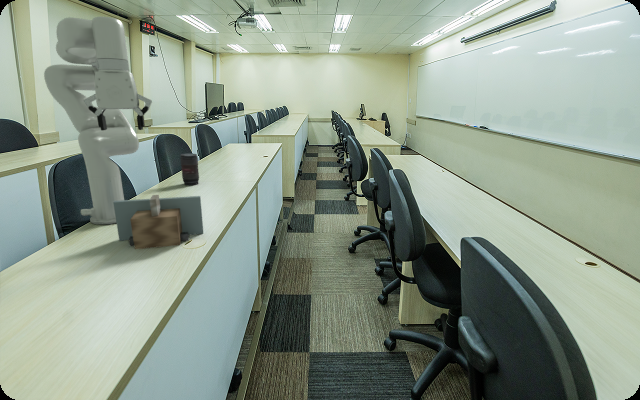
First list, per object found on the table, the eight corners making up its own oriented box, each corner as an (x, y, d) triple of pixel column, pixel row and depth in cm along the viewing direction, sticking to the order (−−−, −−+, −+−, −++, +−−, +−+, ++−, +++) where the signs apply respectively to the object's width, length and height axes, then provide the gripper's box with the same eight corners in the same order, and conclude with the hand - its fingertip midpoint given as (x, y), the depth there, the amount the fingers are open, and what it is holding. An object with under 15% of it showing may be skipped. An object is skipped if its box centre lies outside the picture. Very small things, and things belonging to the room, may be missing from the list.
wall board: (119, 240, 106) (113, 202, 102) (120, 238, 107) (114, 200, 104) (203, 233, 112) (200, 197, 108) (203, 231, 113) (200, 195, 110)
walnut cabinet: (134, 249, 100) (127, 202, 96) (140, 239, 107) (134, 194, 103) (180, 245, 103) (175, 199, 99) (182, 235, 110) (178, 192, 106)
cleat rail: (129, 246, 102) (128, 239, 101) (131, 243, 104) (130, 236, 103) (188, 240, 106) (187, 234, 105) (189, 238, 108) (188, 231, 107)
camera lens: (185, 186, 173) (182, 156, 169) (181, 183, 179) (178, 154, 175) (201, 184, 177) (199, 154, 173) (197, 181, 183) (194, 152, 179)
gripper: (72, 64, 92) (84, 131, 97) (145, 67, 96) (152, 130, 101) (83, 67, 99) (93, 129, 104) (150, 69, 103) (157, 128, 108)
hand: (122, 129), depth 102 cm, fingers open, 9 cm apart
